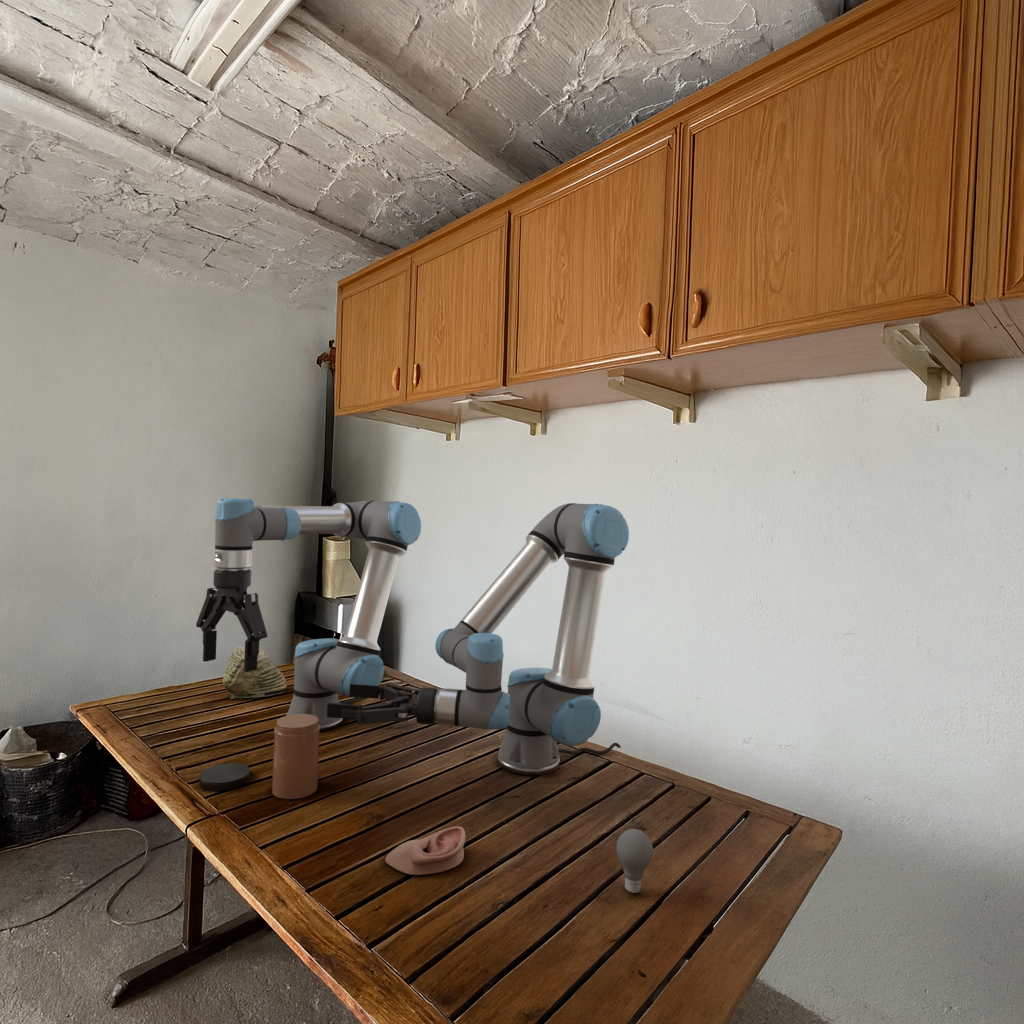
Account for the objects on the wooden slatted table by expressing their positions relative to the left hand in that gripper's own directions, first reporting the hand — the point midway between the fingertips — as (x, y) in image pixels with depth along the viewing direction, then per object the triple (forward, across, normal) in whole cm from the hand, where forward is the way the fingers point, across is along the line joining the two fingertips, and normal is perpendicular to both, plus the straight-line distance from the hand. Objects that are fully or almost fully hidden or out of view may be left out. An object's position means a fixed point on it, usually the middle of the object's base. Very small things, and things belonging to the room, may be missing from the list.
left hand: (229, 665), depth 139 cm
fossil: (+26, -44, +43) cm, 67 cm away
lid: (+24, 0, 0) cm, 24 cm away
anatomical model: (+26, +55, 0) cm, 60 cm away
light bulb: (+26, +89, +10) cm, 93 cm away
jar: (+26, +15, +6) cm, 30 cm away
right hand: (+5, +24, +9) cm, 26 cm away
